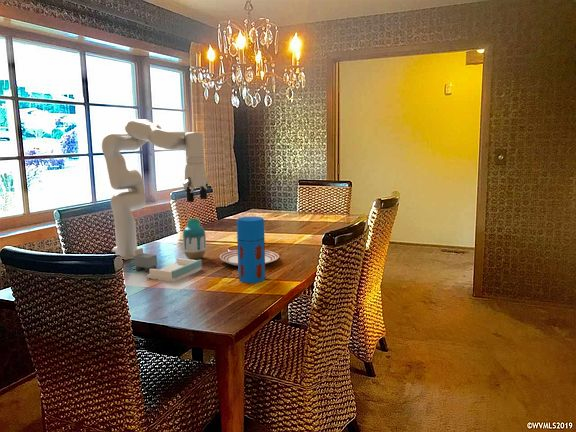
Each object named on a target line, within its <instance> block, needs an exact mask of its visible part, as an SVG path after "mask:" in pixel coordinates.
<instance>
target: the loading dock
mask: <svg viewBox="0 0 576 432" xmlns="http://www.w3.org/2000/svg"><path fill="white" fill-rule="evenodd" d="M202 261H203V259H190V258H180V257H179V258H178V257H177V258H176V263H172V264H170V265H167V266H165V267H162V268H160V269H157V268H155V269H149V271H148V272H149V273H147V274H146V278H147V279H149V278H151V280H156V279H158V281H163V280H165V281H164V282H171V283H176V282H177V281H180V280H182V279H184V278H187V277H189V276H191V275H193V274H195V273H198V272H199V271H201V270H203V264H202Z"/></svg>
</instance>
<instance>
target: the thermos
mask: <svg viewBox="0 0 576 432" xmlns="http://www.w3.org/2000/svg"><path fill="white" fill-rule="evenodd" d="M264 219H265V218H264V217H261V216H241V217H238V218H237V219H236V238H237V239H236V240H237V241H236V242H237V250H238V266H237V267H238V268H237V269H238V270H237V271H238V272H237V273H238V280H239V281H240V282H241V283H244V284H256V283H261V282H263V281H265V279H266V264H265V250H266V249H265V243H266V242H265V220H264Z"/></svg>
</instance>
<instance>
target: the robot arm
mask: <svg viewBox="0 0 576 432" xmlns="http://www.w3.org/2000/svg"><path fill="white" fill-rule="evenodd" d="M124 130H125V131H114V132H110V133H108V134H106V135H105V136H104V137H103V139H102V143H101V151H102V153H103V156H104V159H105V163H106V168H107V173H108V180H109V183H110V186H111V188H112V189H113V190H115V191H121V190H123V192H118V193H116V194H114V195H113V196H112V197H111V199H110V208H111V210H112V217H113V223H114V235H115V246H114V247H113V248H112V249H111V252H113V253H115V254H118V255H120V256H121V258H122V259H124V260H123V261H125V260H127V261H129V260H134V250H136V249H138V244H137V242H138V241H137V240H138V239H137V227H136V226H137V225H136V220H135V216H134V215H133V213H132V212H134V211H138V210H141V209H143V208H144V207H145V205H146V201H147V200H146V199H147V198H146V193H145V188H144V187H145V186H144V181H143V176H142V175H141V173H140V172H139V171H138V170H137V169H135V168H127V163H126V159H125V157H124V156H123V154H122V153H121V151H135V150H138V149H140V148H142V146H143V145H145V144H146V143H147V142H148V143H151V144H152V146H155V147H158V148H162V149H165V150H185V156H186V158H185V159H186V160H185V161H186V164H185V168H184V181H183V183H182V185H183V189H184V190H185V194H186V202H188V203H194V202H195V198H194V197H195V194H194V189H197V188H199V189H200V190H199V194H200V195H199V198H200V200H207V199H208V193H207V192H208V191H207V190H208V185H209V181H210V180H209V178H207V172H206V166H205V153H204V152H205V150H204V146H205V145H204V134H203V133H202V132H200V131H190V132H188V131H170V130H164V129H162V127H161V125H159V124H157V123H154V122H153V121H152V120H149V119H144V118H143V119H141V118H132V119H130V120H127V122H126V123H125V127H124ZM124 190H127V191H124ZM115 254H114V255H115Z"/></svg>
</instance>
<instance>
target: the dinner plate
mask: <svg viewBox="0 0 576 432" xmlns="http://www.w3.org/2000/svg"><path fill="white" fill-rule="evenodd" d="M279 258H280V255H279V254H278V253H276V252H274V251H270V250H266V249H265V265H268V264H271V263H272V262H275V261H277V260H278V259H279ZM219 259H220V260H221V261H223V262H224V263H227V264H230V265H232V266H235V267H238V249H235V250H230V251H226V252H222V253H221V254H220V255H219Z"/></svg>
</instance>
